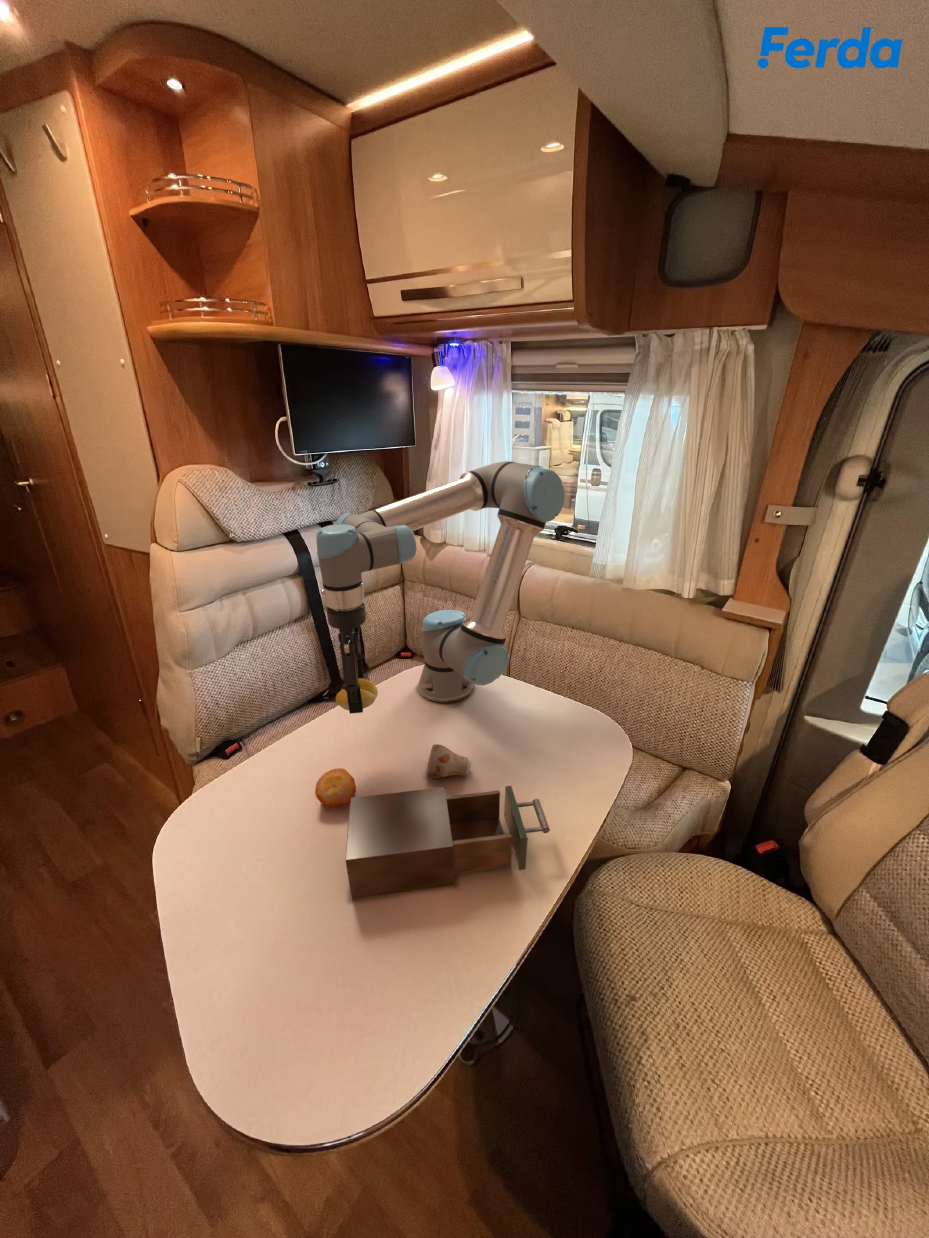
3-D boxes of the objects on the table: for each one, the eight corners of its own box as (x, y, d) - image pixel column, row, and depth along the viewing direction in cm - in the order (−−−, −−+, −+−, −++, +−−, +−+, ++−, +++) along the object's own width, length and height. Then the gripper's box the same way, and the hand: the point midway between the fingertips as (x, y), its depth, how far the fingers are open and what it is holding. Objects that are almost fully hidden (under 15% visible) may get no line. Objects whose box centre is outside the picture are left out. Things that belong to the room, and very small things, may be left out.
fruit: (357, 773, 110) (353, 762, 103) (358, 810, 105) (354, 801, 99) (319, 778, 108) (313, 767, 102) (319, 816, 104) (312, 806, 98)
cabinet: (446, 823, 99) (444, 786, 95) (454, 885, 87) (453, 846, 83) (356, 834, 97) (350, 797, 93) (351, 899, 85) (345, 860, 80)
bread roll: (330, 709, 105) (328, 693, 104) (349, 686, 113) (347, 671, 111) (367, 715, 103) (365, 699, 102) (383, 691, 111) (382, 676, 110)
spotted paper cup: (475, 784, 109) (452, 759, 103) (437, 793, 112) (413, 770, 107) (477, 755, 114) (455, 730, 109) (440, 764, 118) (418, 741, 112)
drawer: (533, 812, 100) (535, 782, 97) (552, 865, 89) (555, 834, 86) (427, 824, 98) (425, 794, 94) (432, 881, 86) (431, 850, 83)
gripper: (331, 585, 108) (343, 673, 118) (319, 630, 88) (335, 731, 98) (366, 582, 109) (375, 670, 119) (362, 627, 89) (373, 728, 99)
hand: (357, 698), depth 108 cm, fingers closed on bread roll, 9 cm apart
